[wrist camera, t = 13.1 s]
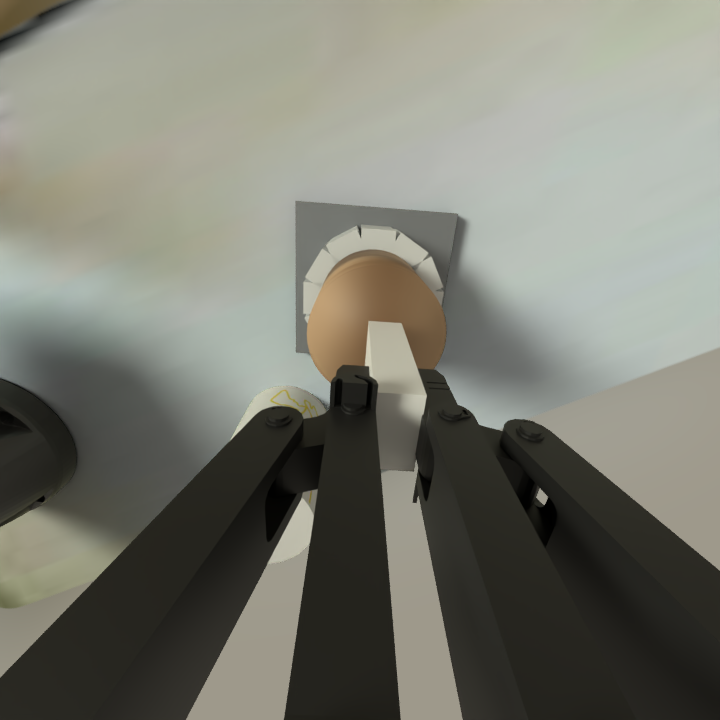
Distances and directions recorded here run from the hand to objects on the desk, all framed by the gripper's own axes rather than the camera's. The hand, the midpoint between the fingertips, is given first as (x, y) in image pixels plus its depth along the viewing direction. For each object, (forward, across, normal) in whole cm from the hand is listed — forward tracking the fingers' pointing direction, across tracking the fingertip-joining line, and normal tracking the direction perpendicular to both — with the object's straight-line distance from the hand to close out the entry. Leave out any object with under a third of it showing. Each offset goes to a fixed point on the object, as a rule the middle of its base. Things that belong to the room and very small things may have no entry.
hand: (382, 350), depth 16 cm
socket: (+14, 0, 0) cm, 14 cm away
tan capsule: (+13, 0, 0) cm, 13 cm away
